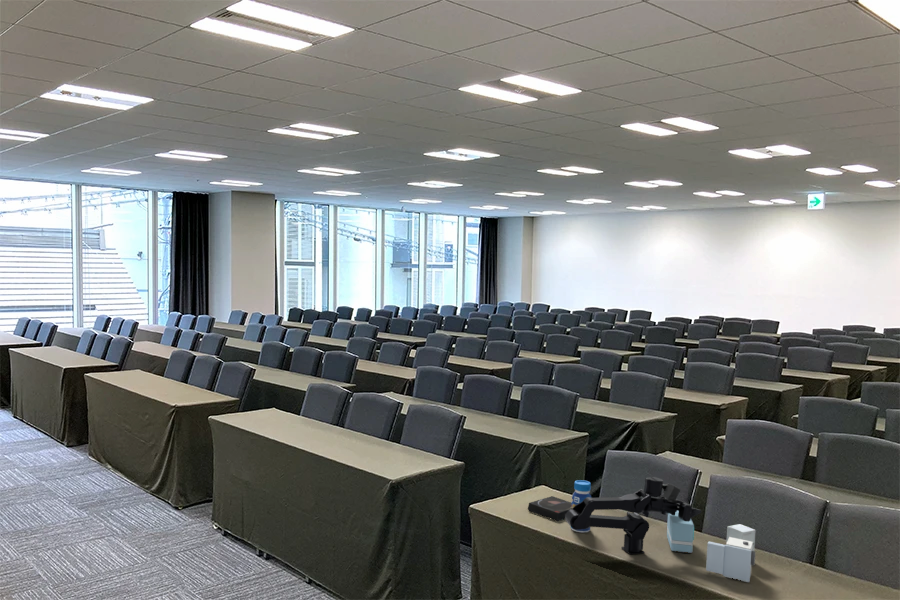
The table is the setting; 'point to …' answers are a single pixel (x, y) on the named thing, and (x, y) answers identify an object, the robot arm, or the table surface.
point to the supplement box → (741, 533)
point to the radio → (680, 533)
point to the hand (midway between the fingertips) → (694, 508)
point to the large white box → (744, 545)
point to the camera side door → (729, 561)
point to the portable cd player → (550, 507)
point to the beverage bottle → (581, 496)
